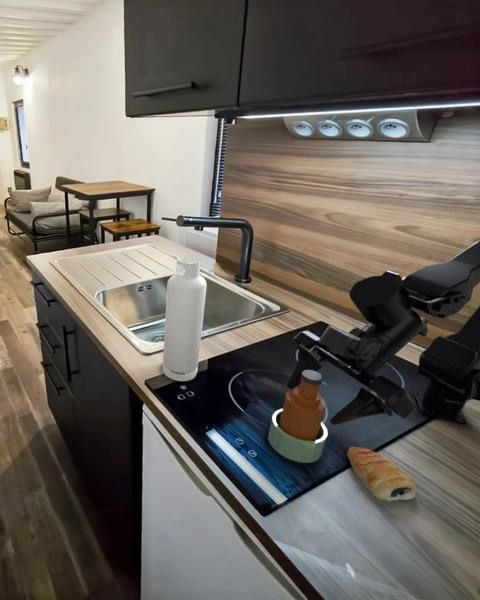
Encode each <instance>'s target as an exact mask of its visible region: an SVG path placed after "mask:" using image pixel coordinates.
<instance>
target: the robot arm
mask: <svg viewBox="0 0 480 600" xmlns="http://www.w3.org/2000/svg"><path fill="white" fill-rule="evenodd" d="M479 284H480V239H479V240H478V241H476V242H475V243H473V244H472V245H470V246H469V247H467V248H466V249H464V250H463V251H461V252H460V253H458V254H456V256H454V257H452V258H451V259H449V260H447V261H445V262H441V263H436V264H435V263H434V264H430V265H426V266H423V267H421V268H420V269H418V270H416V271H413V272H411V273H410V274H408V275H406V276H404V277H402V276H401V274H399V273H395V272H393V271H389V270H385V271H384V272H383V273H382V274H381V275H372V276H368V277H366V278H363V279H361V280H358V281H356V282H355V283H354V284H353V285H352V286H351V288H350V290H349V299H350V300H351V301H352V303H353V304H354V305H355V307H356V309H357V310H358V312H360V314H361V315H362V317H363V318H364V319H365V320H366V322H367V323H366V324H365V325H364V326H363V327H362V328H359V327H357V326H356V327H353V328H352V329H351V330H350V331H349V332H348V331H345V330H343V329H341V328H337V327H335V326H332V325H328V326H327V327H326V329H325V331H323V333H322V335H321V336H320V337H319V336H317V335H316V334H314V333H312V332H311V331H309V330H303V331H300V332H299V333H297V334H296V335H295V336H294V337H293V340H294V341H295V342H296V344H295V348H296V349H297V351H298V359H297V362H296V365H295V367H294V370H293V372H292V374H291V376H290V378H289V380H288V382H287V385H286V386H287V388H288V389H289V390H291V389H295V388H296V387H299V386H300V383H301V380H302V379H301V375H302V372H303V371H304V370H313V371H316V372H318V371H319V370H321V368H323V365H322V364H321V363H325V362H327V363H329V364H330V365H332V366H334V367H335V368H336V369H338V370H339V371H341V372H343V373H344V374H346V375H347V376H349V377H350V378H352V379H353V380H355V381H356V382H358V383H359V384H361V385H362V386H361V387H360V389H359V391H358V392H357V395H356V397H354V398H353V399H352V400H351V401H350V402H349V403H348V404H346V405H345V406H344V407H343V408H341V409H340V410H339V411H338V412H336V413H335V415H333V417H331V419H330V420H329V422H330V424H332V425H333V426H336V425H340V424H343V423H347V422H351V421H355V420H358V419H362V418H366V417H371V416H378V415H383V414H385V415H387V416H389V417H392V416H393V415H394V413H395V414H396V415H397V416H399V417H400V418H402V419H406V418H407V417H409V416H410V415H411V414H412V413H413V412H414V411H415V408H416V404H417V406H418V408H419V411H420V413H421V415H424V416H427V417H431V418H436V419H441V420H444V421H449V422H452V423H458V424H461V425H467V424H468V421H467V418H466V416H465V415H464V412H463V409H464V407H465V405H466V404H467V401H470V400H475V401H478V402H480V304H479V305H478V306H477V307H476V309H475V310H474V311H473V312H472V313H471V315H470V316H469V317H468V318H467V320H466V321H465V322H464V323H463V324H462V326H461V327H460V328H459V330H458V331H456V332H454V333H452V334H449V335H447V336H442V335H438V336H437V337H434V339H433V340H432V341H431V343H430V345H429V346H428V347H427V348H426V349H424V350H423V351H422V353H420V354H419V358H418V371H417V373H418V375H420V376H423V377H425V378H426V379H429V381H428V383H427V385H426V387H425V390H424V391H423V393H422V394H421V393H414V399H415V400H413V398H412V396H411V395H410V394H409V393H408V391H407V390H406V389H405V388H403V387H402V386H400V385H398V384H397V383H395V382H394V381H393V380H390V379H389V378H387V377H385V376H384V375H378V376H377V375H376V374H375V373H376V372H377V371H379V370H380V369H381V368H382V367H383V366H384V365H386V363H387V362H389V363H390V364H394V363H395V362H396V361H397V360H398V358H397V356H395V355H396V354H397V353H399V352H400V351H401V350H402V349H403V348H404V347H405V346H406V345H407V344H409V343H410V342H411V341H412V340H413V339H414V338H415V337H416V336H417V335H419V336H421V337H426V336H428V332H429V329H428V322H429V320H428V319H427V318H424V317H422V316H420V314H419V313H418V312H417V311H419V312H421V313H424V314H426V315H428V316H431V317H433V318H437V319H441V320H442V319H446V318H449V317H451V316H452V315H453V316H454V315H455V314H457V313H459V312H460V311H461V310H462V309H463V308H464V307H465V306H466V305H467V304H468V303H469V302H470V301H471V300H472V296H473V291H474V288H475V287H476V286H478V285H479ZM415 310H417V311H415ZM354 371H356V372H354Z"/></svg>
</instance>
